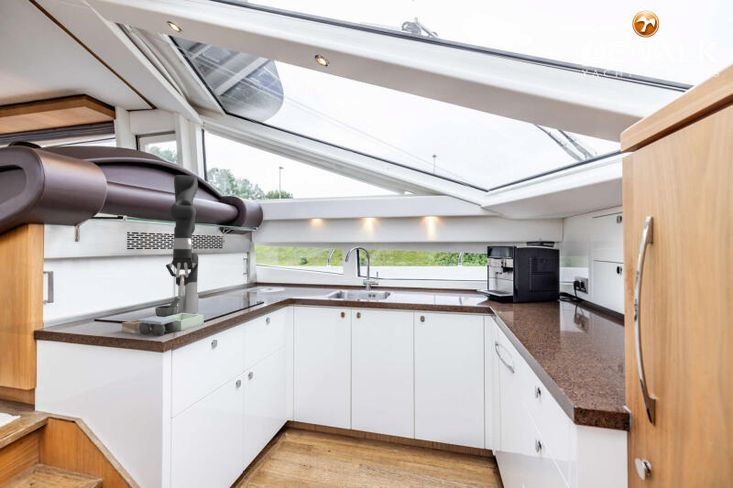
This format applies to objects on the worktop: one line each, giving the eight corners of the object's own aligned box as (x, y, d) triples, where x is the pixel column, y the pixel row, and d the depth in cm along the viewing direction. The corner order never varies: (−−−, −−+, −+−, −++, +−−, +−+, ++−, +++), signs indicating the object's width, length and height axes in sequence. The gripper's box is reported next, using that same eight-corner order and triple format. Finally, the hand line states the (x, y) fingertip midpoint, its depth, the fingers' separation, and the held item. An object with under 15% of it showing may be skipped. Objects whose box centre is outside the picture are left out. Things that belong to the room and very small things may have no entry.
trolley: (138, 333, 137) (138, 319, 138) (153, 329, 144) (153, 316, 144) (161, 336, 134) (162, 321, 134) (176, 332, 141) (176, 318, 141)
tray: (181, 322, 159) (181, 313, 159) (203, 324, 155) (203, 314, 155) (157, 328, 146) (158, 318, 146) (181, 331, 142) (181, 320, 142)
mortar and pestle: (151, 323, 155) (152, 298, 155) (158, 319, 164) (158, 295, 164) (178, 322, 159) (178, 297, 159) (183, 318, 168) (183, 294, 168)
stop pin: (181, 295, 152) (182, 274, 152) (186, 295, 151) (186, 274, 151) (177, 296, 150) (178, 274, 150) (181, 296, 149) (182, 274, 149)
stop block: (137, 327, 147) (137, 319, 147) (149, 329, 145) (149, 320, 145) (122, 331, 140) (122, 322, 140) (134, 333, 138) (134, 323, 138)
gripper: (199, 248, 157) (198, 283, 157) (165, 247, 151) (164, 285, 151) (199, 248, 151) (199, 285, 151) (164, 248, 144) (163, 287, 144)
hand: (182, 285), depth 151 cm, fingers closed on stop pin, 2 cm apart
